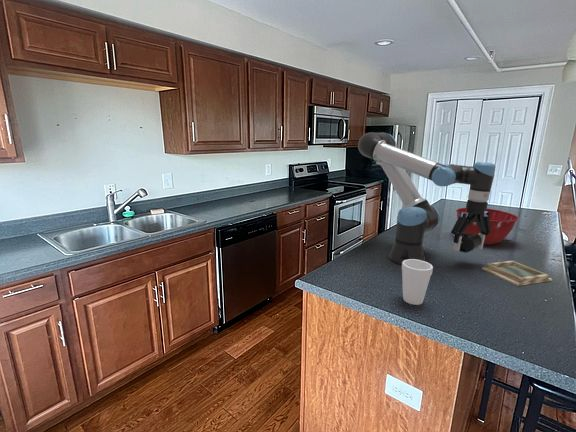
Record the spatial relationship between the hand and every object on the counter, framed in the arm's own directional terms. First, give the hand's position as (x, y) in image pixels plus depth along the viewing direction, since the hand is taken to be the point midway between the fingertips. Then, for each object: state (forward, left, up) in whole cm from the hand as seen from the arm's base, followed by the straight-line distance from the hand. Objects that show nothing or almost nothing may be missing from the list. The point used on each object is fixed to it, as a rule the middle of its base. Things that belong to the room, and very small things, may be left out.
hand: (467, 249), depth 137 cm
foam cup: (-43, -21, -8) cm, 48 cm away
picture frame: (+12, -14, -7) cm, 20 cm away
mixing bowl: (+36, +25, -8) cm, 45 cm away
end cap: (0, 0, -1) cm, 1 cm away
